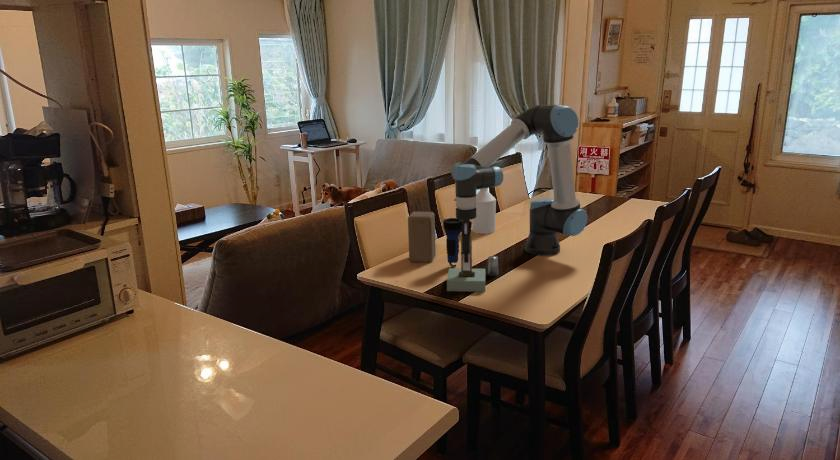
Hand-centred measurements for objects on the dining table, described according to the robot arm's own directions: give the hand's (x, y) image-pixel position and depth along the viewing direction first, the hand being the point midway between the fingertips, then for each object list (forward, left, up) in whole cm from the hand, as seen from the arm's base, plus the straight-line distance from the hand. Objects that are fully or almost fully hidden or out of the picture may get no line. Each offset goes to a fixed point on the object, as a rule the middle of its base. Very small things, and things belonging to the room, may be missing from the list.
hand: (466, 268), depth 222 cm
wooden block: (+20, -31, -7) cm, 38 cm away
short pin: (-10, -12, -7) cm, 17 cm away
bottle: (-6, -77, -7) cm, 78 cm away
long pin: (0, 0, -5) cm, 5 cm away
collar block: (0, 0, -7) cm, 7 cm away
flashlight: (+6, -20, -7) cm, 22 cm away
